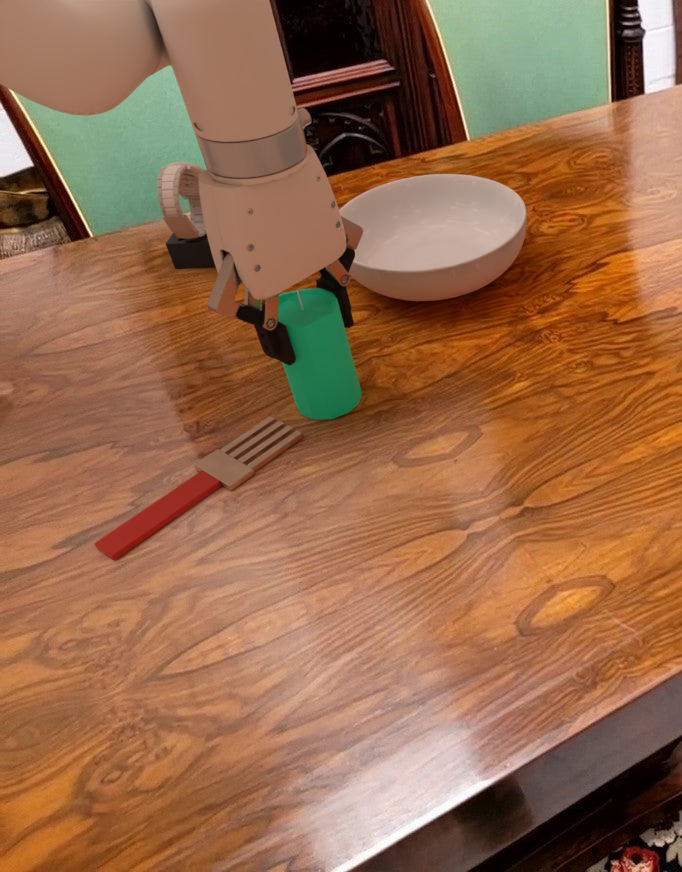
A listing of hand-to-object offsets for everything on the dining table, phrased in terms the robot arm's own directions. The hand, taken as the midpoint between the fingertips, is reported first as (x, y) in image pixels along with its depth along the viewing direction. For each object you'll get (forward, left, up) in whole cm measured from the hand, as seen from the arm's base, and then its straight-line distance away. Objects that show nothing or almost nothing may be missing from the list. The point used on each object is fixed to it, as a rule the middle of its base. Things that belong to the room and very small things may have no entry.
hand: (311, 338), depth 83 cm
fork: (0, -14, -7) cm, 16 cm away
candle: (0, 0, -7) cm, 7 cm away
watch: (-32, +10, -7) cm, 34 cm away
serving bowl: (-7, +22, -7) cm, 24 cm away
